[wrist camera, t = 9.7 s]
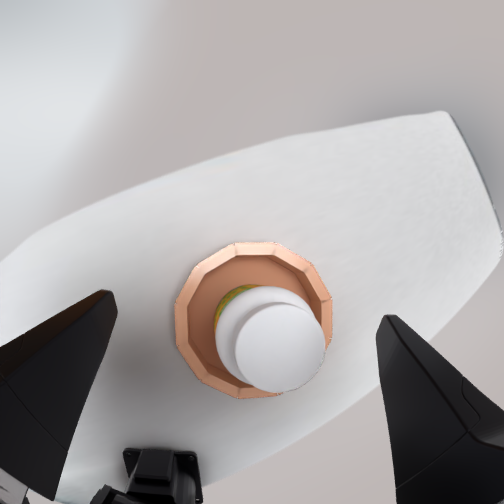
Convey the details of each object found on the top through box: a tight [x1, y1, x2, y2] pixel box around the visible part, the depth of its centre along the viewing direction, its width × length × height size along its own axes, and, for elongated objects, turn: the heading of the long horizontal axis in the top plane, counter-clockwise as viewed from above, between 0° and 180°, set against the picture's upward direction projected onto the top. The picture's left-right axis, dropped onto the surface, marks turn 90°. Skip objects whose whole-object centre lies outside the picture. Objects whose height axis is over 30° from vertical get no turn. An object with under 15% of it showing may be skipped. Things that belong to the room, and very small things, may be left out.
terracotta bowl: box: [174, 243, 332, 399], centre depth 21 cm, size 11×11×3 cm
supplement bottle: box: [214, 284, 325, 393], centre depth 17 cm, size 5×5×10 cm
